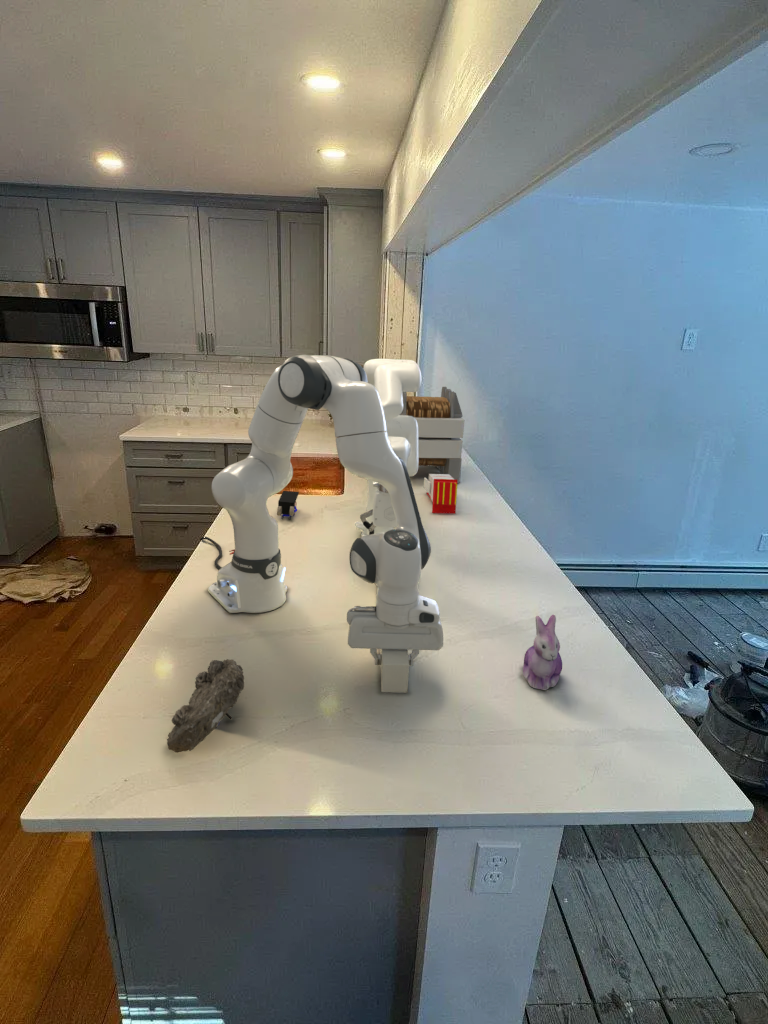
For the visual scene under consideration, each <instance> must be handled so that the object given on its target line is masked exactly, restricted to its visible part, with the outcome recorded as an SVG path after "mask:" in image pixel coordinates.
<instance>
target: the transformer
mask: <svg viewBox="0 0 768 1024" xmlns="http://www.w3.org/2000/svg"><path fill="white" fill-rule="evenodd" d="M402 393H403V411H402V412H401V414H400V415H407V416H412V417H414V418H415V419H416V421H417V424H418V437H419V465H418V467H436V468H437V470H438V469H439V473H440V474H449V475H450V476H451V477H452V478H453V479H455V480H457V484H459V483H461V472H462V461H463V460H462V453H463V442H464V441H463V440H462V439H463V438H464V431H465V430H464V429H465V419H464V418H463V411H462V408H461V405H460V402H459V398H458V395H457V392H455V391H453V390H452V389H451V388H447V386H442V387H441V392H440V393H441V394H440V396H415V395H414V396H413V395H412V396H411V395H407V394H408V392H402Z"/></svg>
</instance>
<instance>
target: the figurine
mask: <svg viewBox="0 0 768 1024" xmlns="http://www.w3.org/2000/svg"><path fill="white" fill-rule="evenodd" d="M556 622H557V618H556V615H555V614H551V615H550V616H549V618H548V620H547V623H546V624H545V623H544V621H543V619H542V618H541V617H540V616H539V615H536V616H535V631H536V636H535V637H534V640H533V645H532V646H530V647H528V649H527V650H526V651H525V653H524V657H523V666H522V675H523V678H524V679H525V680H526V681H527V683H528V685H529V686H530V687H531V688H534V689H538V690H542V691H546V690H548V689H550V688H553V687H555V686H556V685H557V684H558V682H559V679H560V675H561V673H562V671H563V660H562V656H561V654H560V649H561V644H560V641H559V640H560V639H559V638H558V636H557V634H556Z"/></svg>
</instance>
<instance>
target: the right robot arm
mask: <svg viewBox="0 0 768 1024" xmlns="http://www.w3.org/2000/svg"><path fill="white" fill-rule="evenodd" d="M362 368H363V369H364V371H365V373H366V375H367V381H368V383H370V384H372V385H373V386H374V387H375V388H376V389H377V391H378V393H379V396H380V399H381V403H382V406H383V411H384V415H385V420H386V426H387V433H388V439H389V442H390V445H391V447H392V449H393V451H394V453H395V454H396V456H398V457H400V458H401V459H402V460H403V462H404V463H405V465H406V468H407V471H408V474H409V477H414V476H415V475H417V473H418V470H419V466H418V465H419V437H418V424H417V421H416V419H415V418H414V417H412V416H407V415H400V414H401V412H402V411H403V393H402V392H406V393H416V392H419V390H420V389H421V387H422V382H423V381H422V379H423V378H422V371H421V368H420V366H419V364H418V363H417V362H416V360H413V359H397V358H372V359H368V360H367V361H365V363H364V364H363V367H362ZM366 480H367V484H366V486H367V491H366V512H363V513H361V514H360V515H359V519H360V521H355V522H354V527H355V529H356V530H361V534H360V535H361V536H360V537H362V536H366V535H371V534H376V533H383V532H387V531H389V530H394V529H397V520H396V517H395V513H394V509H393V506H392V502H391V498H390V495H389V493H388V491H387V490H386V488H385V487H384V486H382V485H381V484H379V483H377V482H375V481H371V480H368V479H366ZM420 518H421V519H422V517H421V516H420Z"/></svg>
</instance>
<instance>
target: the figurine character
mask: <svg viewBox="0 0 768 1024" xmlns="http://www.w3.org/2000/svg"><path fill="white" fill-rule="evenodd" d="M299 494H300V492H299V491H291V490H282V492H281V495H280V497H279V499H278V501H277V508H276V515H277V516H281V518H280V520H284V518H288V520H289V521H290V520H291V519H292V517H293V516H295V513H297V512H298V509H297V499H298V496H299Z"/></svg>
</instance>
